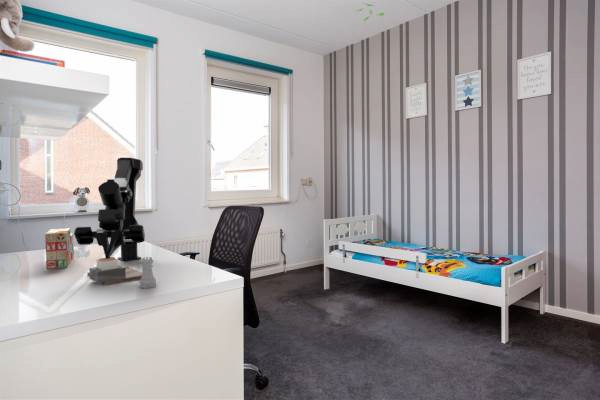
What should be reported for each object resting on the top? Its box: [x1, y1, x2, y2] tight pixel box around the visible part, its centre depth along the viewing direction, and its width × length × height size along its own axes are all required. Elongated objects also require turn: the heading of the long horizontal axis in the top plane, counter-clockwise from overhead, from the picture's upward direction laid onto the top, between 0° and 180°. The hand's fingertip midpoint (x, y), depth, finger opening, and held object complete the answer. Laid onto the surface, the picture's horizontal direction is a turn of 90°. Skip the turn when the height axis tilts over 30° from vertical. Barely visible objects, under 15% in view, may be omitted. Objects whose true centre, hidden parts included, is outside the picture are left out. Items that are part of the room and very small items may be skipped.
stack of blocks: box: [44, 227, 75, 270], centre depth 139 cm, size 21×6×12 cm, turn 26°
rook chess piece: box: [138, 256, 157, 289], centre depth 106 cm, size 4×4×8 cm
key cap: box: [95, 256, 119, 271], centre depth 111 cm, size 4×4×4 cm
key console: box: [86, 264, 143, 287], centre depth 116 cm, size 16×14×4 cm
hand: (107, 257), depth 111 cm, fingers closed, pressing on key cap
